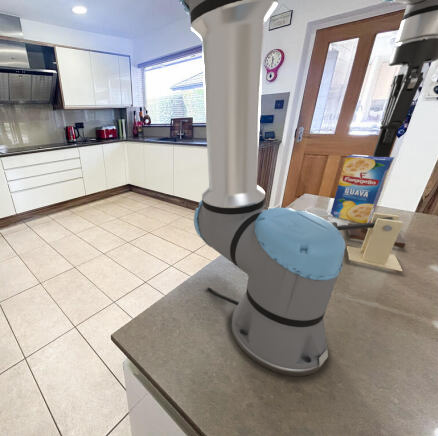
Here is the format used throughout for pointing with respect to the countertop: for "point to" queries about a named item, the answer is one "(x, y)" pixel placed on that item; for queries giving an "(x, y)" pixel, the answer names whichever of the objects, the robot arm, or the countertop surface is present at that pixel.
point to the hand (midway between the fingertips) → (380, 156)
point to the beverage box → (360, 187)
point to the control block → (362, 233)
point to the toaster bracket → (379, 243)
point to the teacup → (320, 213)
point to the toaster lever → (357, 225)
